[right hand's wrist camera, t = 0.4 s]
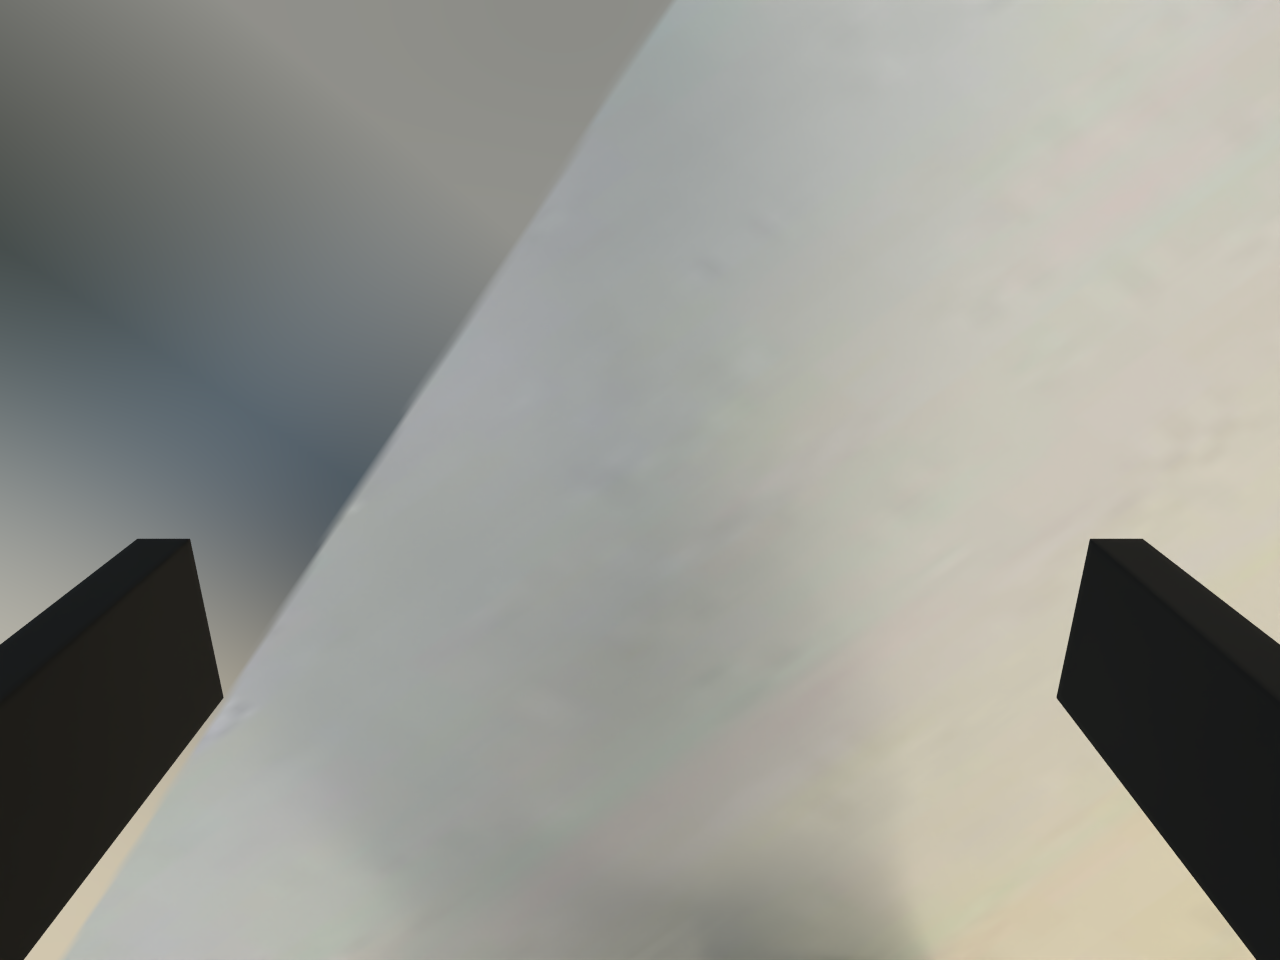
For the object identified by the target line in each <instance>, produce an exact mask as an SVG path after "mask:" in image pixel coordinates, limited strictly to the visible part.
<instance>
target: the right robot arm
mask: <svg viewBox="0 0 1280 960" xmlns="http://www.w3.org/2000/svg"><path fill="white" fill-rule="evenodd" d="M222 699H223V693H222V689H221V684H220V679H219V674H218V669H217V665H216V660H215V655H214V650H213V646H212V641H211V636H210V631H209V627H208V622H207V617H206V612H205V608H204V603H203V598H202V594H201V589H200V584H199V579H198V575H197V570H196V565H195V560H194V556H193V551H192V546H191V542H190V539H137V540H135V541H134V542H133V543H132V544H130V545H129V546H128V547H126V548H125V549H124V550H122V551H121V552H120V553H119V554H117V555H116V556H115V557H113V558H112V559H111V560H109V561H108V562H107V563H106V564H104V565H103V566H102V567H100V568H99V569H98V570H96V571H95V572H94V573H93V574H91V575H90V576H89V577H87V578H86V579H85V580H83V581H82V582H81V583H80V584H78V585H77V586H76V587H74V588H73V589H72V590H70V591H69V592H68V593H67V594H65V595H64V596H63V597H61V598H60V599H59V600H58V601H56V602H55V603H54V604H52V605H51V606H50V607H49V608H47V609H46V610H45V611H43V612H42V613H41V614H39V615H38V616H37V617H35V618H34V619H33V620H32V621H30V622H29V623H28V624H26V625H25V626H24V627H23V628H21V629H20V630H19V631H17V632H16V633H15V634H13V635H12V636H11V637H10V638H8V639H7V640H6V641H4V642H3V643H2V644H0V960H24V959H25V957H26V956H27V955H28V953H29V952H30V951H31V949H32V948H33V947H34V945H35V944H36V943H37V942H38V940H39V939H40V938H41V936H42V935H43V934H44V932H45V931H46V930H47V928H48V927H49V926H50V924H51V923H52V922H53V921H54V919H55V918H56V917H57V915H58V914H59V913H60V911H61V910H62V909H63V907H64V906H65V905H66V904H67V902H68V901H69V900H70V898H71V897H72V896H73V894H74V893H75V892H76V890H77V889H78V888H79V886H80V885H81V884H82V883H83V881H84V880H85V879H86V877H87V876H88V875H89V873H90V872H91V871H92V869H93V868H94V867H95V866H96V864H97V863H98V862H99V860H100V859H101V858H102V856H103V855H104V854H105V852H106V851H107V850H108V848H109V847H110V846H111V845H112V843H113V842H114V841H115V839H116V838H117V837H118V835H119V834H120V833H121V831H122V830H123V829H124V827H125V826H126V825H127V824H128V822H129V821H130V820H131V818H132V817H133V816H134V814H135V813H136V812H137V810H138V809H139V808H140V806H141V805H142V804H143V803H144V801H145V800H146V799H147V797H148V796H149V795H150V793H151V792H152V791H153V789H154V788H155V787H156V785H157V784H158V783H159V782H160V780H161V779H162V778H163V776H164V775H165V774H166V772H167V771H168V770H169V768H170V767H171V766H172V765H173V763H174V762H175V761H176V759H177V758H178V757H179V755H180V754H181V753H182V751H183V750H184V749H185V747H186V746H187V745H188V743H189V742H190V741H191V740H192V738H193V737H194V736H195V734H196V733H197V732H198V730H199V729H200V728H201V726H202V725H203V724H204V722H205V721H206V720H207V719H208V717H209V716H210V715H211V713H212V712H213V711H214V709H215V708H216V707H217V706H218V704H219V703H220V702H221V700H222ZM1057 699H1058V700H1059V702H1060V703H1061V704H1062V706H1063V707H1064V708H1065V709H1066V711H1067V712H1068V713H1069V715H1070V716H1071V717H1072V719H1073V720H1074V721H1075V723H1076V724H1077V725H1078V726H1079V728H1080V729H1081V730H1082V732H1083V733H1084V734H1085V736H1086V737H1087V738H1088V740H1089V741H1090V742H1091V744H1092V745H1093V746H1094V747H1095V749H1096V750H1097V751H1098V753H1099V754H1100V755H1101V757H1102V758H1103V759H1104V761H1105V762H1106V763H1107V765H1108V766H1109V767H1110V768H1111V770H1112V771H1113V772H1114V774H1115V775H1116V776H1117V778H1118V779H1119V780H1120V782H1121V783H1122V784H1123V786H1124V787H1125V788H1126V789H1127V791H1128V792H1129V793H1130V795H1131V796H1132V797H1133V799H1134V800H1135V801H1136V803H1137V804H1138V805H1139V806H1140V808H1141V809H1142V810H1143V812H1144V813H1145V814H1146V816H1147V817H1148V818H1149V820H1150V821H1151V822H1152V824H1153V825H1154V826H1155V827H1156V829H1157V830H1158V831H1159V833H1160V834H1161V835H1162V837H1163V838H1164V839H1165V841H1166V842H1167V843H1168V845H1169V846H1170V847H1171V848H1172V850H1173V851H1174V852H1175V854H1176V855H1177V856H1178V858H1179V859H1180V860H1181V862H1182V863H1183V864H1184V866H1185V867H1186V868H1187V869H1188V871H1189V872H1190V873H1191V875H1192V876H1193V877H1194V879H1195V880H1196V881H1197V883H1198V884H1199V885H1200V886H1201V888H1202V889H1203V890H1204V892H1205V893H1206V894H1207V896H1208V897H1209V898H1210V900H1211V901H1212V902H1213V904H1214V905H1215V906H1216V907H1217V909H1218V910H1219V911H1220V913H1221V914H1222V915H1223V917H1224V918H1225V919H1226V921H1227V922H1228V923H1229V925H1230V926H1231V927H1232V928H1233V930H1234V931H1235V932H1236V934H1237V935H1238V936H1239V938H1240V939H1241V940H1242V942H1243V943H1244V944H1245V946H1246V947H1247V948H1248V949H1249V951H1250V952H1251V953H1252V955H1253V956H1254V957H1255V959H1256V960H1280V644H1278V643H1277V642H1276V641H1274V640H1273V639H1272V638H1270V637H1269V636H1268V635H1267V634H1265V633H1264V632H1263V631H1261V630H1260V629H1259V628H1258V627H1256V626H1255V625H1254V624H1252V623H1251V622H1250V621H1248V620H1247V619H1246V618H1245V617H1243V616H1242V615H1241V614H1239V613H1238V612H1237V611H1235V610H1234V609H1233V608H1232V607H1230V606H1229V605H1228V604H1226V603H1225V602H1224V601H1222V600H1221V599H1220V598H1219V597H1217V596H1216V595H1215V594H1213V593H1212V592H1211V591H1210V590H1208V589H1207V588H1206V587H1204V586H1203V585H1202V584H1200V583H1199V582H1198V581H1197V580H1195V579H1194V578H1193V577H1191V576H1190V575H1189V574H1187V573H1186V572H1185V571H1184V570H1182V569H1181V568H1180V567H1178V566H1177V565H1176V564H1175V563H1173V562H1172V561H1171V560H1169V559H1168V558H1167V557H1165V556H1164V555H1163V554H1162V553H1160V552H1159V551H1158V550H1156V549H1155V548H1154V547H1152V546H1151V545H1150V544H1149V543H1147V542H1146V541H1145V540H1143V539H1090V541H1089V546H1088V551H1087V556H1086V560H1085V565H1084V570H1083V575H1082V579H1081V584H1080V589H1079V594H1078V598H1077V603H1076V608H1075V612H1074V617H1073V622H1072V627H1071V631H1070V636H1069V641H1068V646H1067V650H1066V655H1065V660H1064V665H1063V669H1062V674H1061V679H1060V684H1059V688H1058V693H1057Z"/></svg>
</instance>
